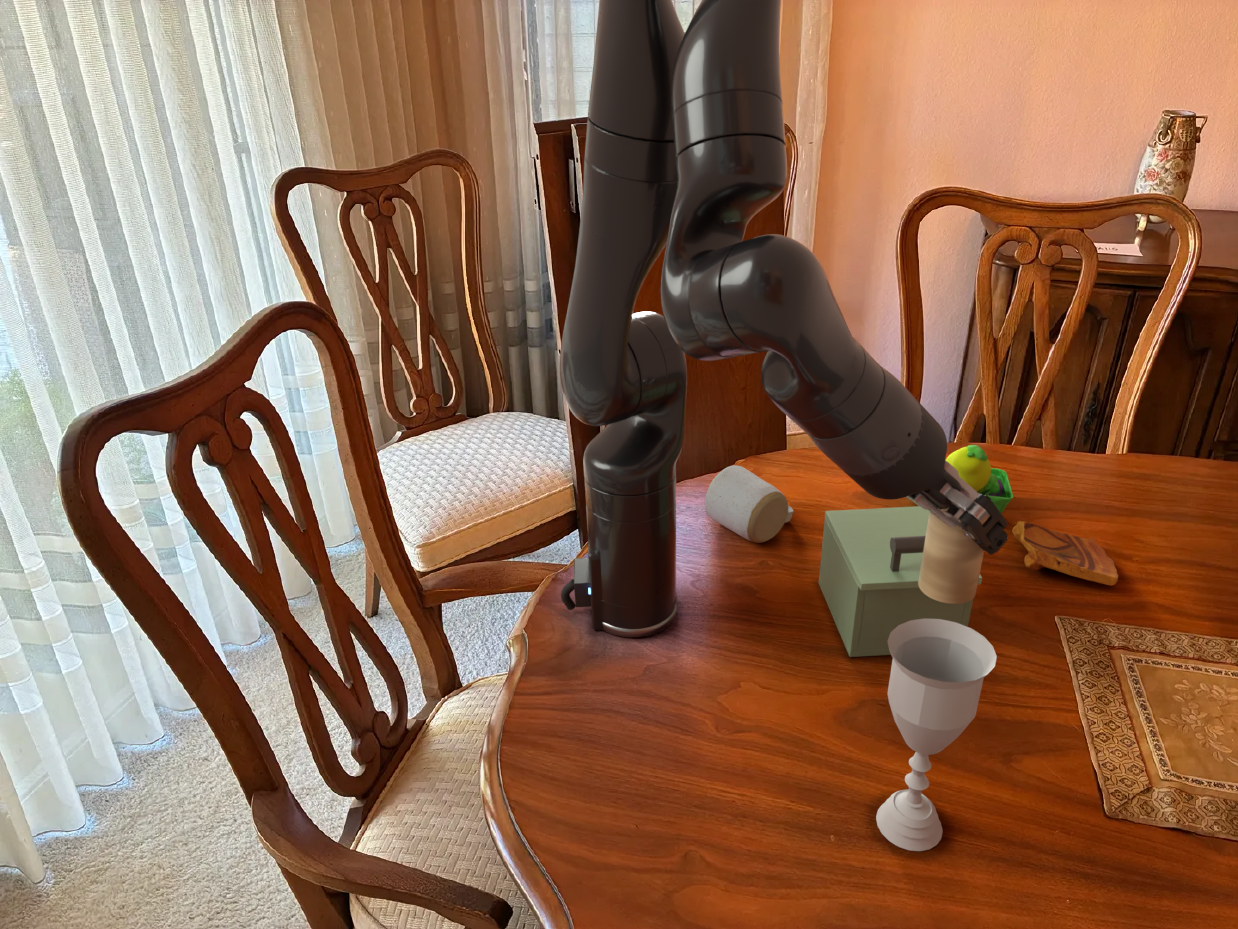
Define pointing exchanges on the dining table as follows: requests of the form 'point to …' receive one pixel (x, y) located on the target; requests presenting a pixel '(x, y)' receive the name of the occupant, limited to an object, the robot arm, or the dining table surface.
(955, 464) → the fruit basket
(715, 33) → the robot arm
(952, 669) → the chalice
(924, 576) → the pepper mill
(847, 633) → the bread box
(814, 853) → the dining table surface
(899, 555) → the bread box lid
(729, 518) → the ceramic mug
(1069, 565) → the pottery fragment
